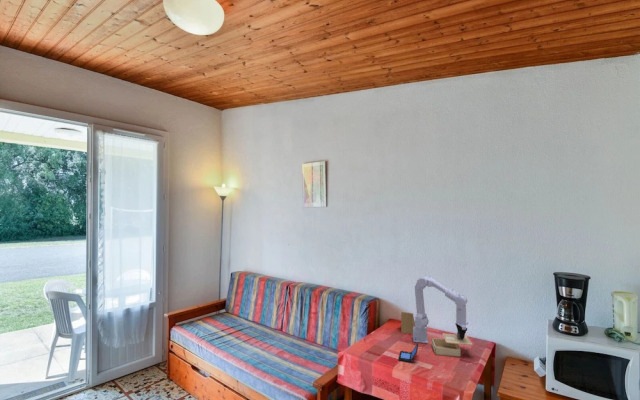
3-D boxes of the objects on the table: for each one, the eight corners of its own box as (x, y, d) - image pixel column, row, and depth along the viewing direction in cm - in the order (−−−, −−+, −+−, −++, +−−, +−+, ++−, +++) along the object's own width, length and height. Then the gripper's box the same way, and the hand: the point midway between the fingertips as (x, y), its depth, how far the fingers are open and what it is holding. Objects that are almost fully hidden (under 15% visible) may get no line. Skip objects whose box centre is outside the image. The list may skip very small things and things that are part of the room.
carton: (435, 354, 197) (435, 347, 197) (431, 345, 211) (431, 338, 211) (460, 357, 194) (460, 349, 194) (455, 347, 208) (456, 340, 208)
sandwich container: (416, 327, 242) (416, 307, 243) (413, 334, 228) (413, 313, 229) (404, 325, 246) (404, 305, 246) (401, 332, 232) (401, 311, 232)
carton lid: (446, 342, 196) (446, 336, 196) (442, 334, 210) (442, 328, 210) (472, 345, 193) (472, 338, 193) (466, 336, 206) (466, 330, 207)
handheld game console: (400, 352, 200) (400, 340, 200) (418, 355, 196) (418, 343, 197) (398, 361, 188) (398, 348, 189) (417, 364, 185) (417, 351, 185)
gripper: (470, 319, 193) (470, 342, 193) (465, 312, 207) (465, 333, 207) (458, 318, 194) (458, 341, 194) (453, 311, 209) (453, 332, 208)
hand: (461, 337), depth 201 cm, fingers open, 4 cm apart
